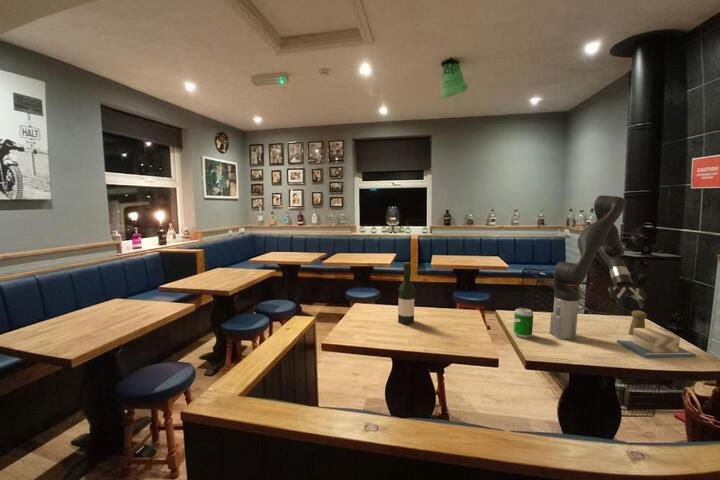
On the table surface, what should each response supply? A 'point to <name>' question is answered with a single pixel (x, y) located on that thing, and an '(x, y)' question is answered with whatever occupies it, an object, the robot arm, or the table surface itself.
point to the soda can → (523, 322)
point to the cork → (637, 320)
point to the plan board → (648, 354)
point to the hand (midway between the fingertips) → (631, 307)
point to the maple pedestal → (656, 340)
